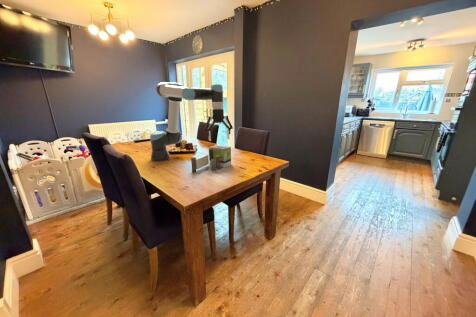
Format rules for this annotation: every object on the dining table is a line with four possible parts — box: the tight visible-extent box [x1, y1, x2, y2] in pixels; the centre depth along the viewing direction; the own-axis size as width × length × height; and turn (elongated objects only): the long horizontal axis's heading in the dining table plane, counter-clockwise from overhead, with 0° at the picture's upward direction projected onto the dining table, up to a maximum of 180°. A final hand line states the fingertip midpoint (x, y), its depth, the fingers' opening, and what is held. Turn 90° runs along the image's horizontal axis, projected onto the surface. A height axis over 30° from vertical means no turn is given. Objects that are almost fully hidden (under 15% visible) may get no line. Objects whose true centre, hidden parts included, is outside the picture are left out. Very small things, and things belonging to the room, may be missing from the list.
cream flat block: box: [196, 154, 210, 170], centre depth 144 cm, size 14×2×8 cm, turn 151°
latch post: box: [215, 155, 222, 170], centre depth 143 cm, size 3×3×10 cm
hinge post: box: [190, 156, 197, 174], centre depth 136 cm, size 4×4×11 cm
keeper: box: [210, 159, 217, 171], centre depth 140 cm, size 1×3×8 cm, turn 113°
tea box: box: [208, 144, 232, 169], centre depth 151 cm, size 15×10×15 cm
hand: (219, 139), depth 135 cm, fingers open, 13 cm apart
